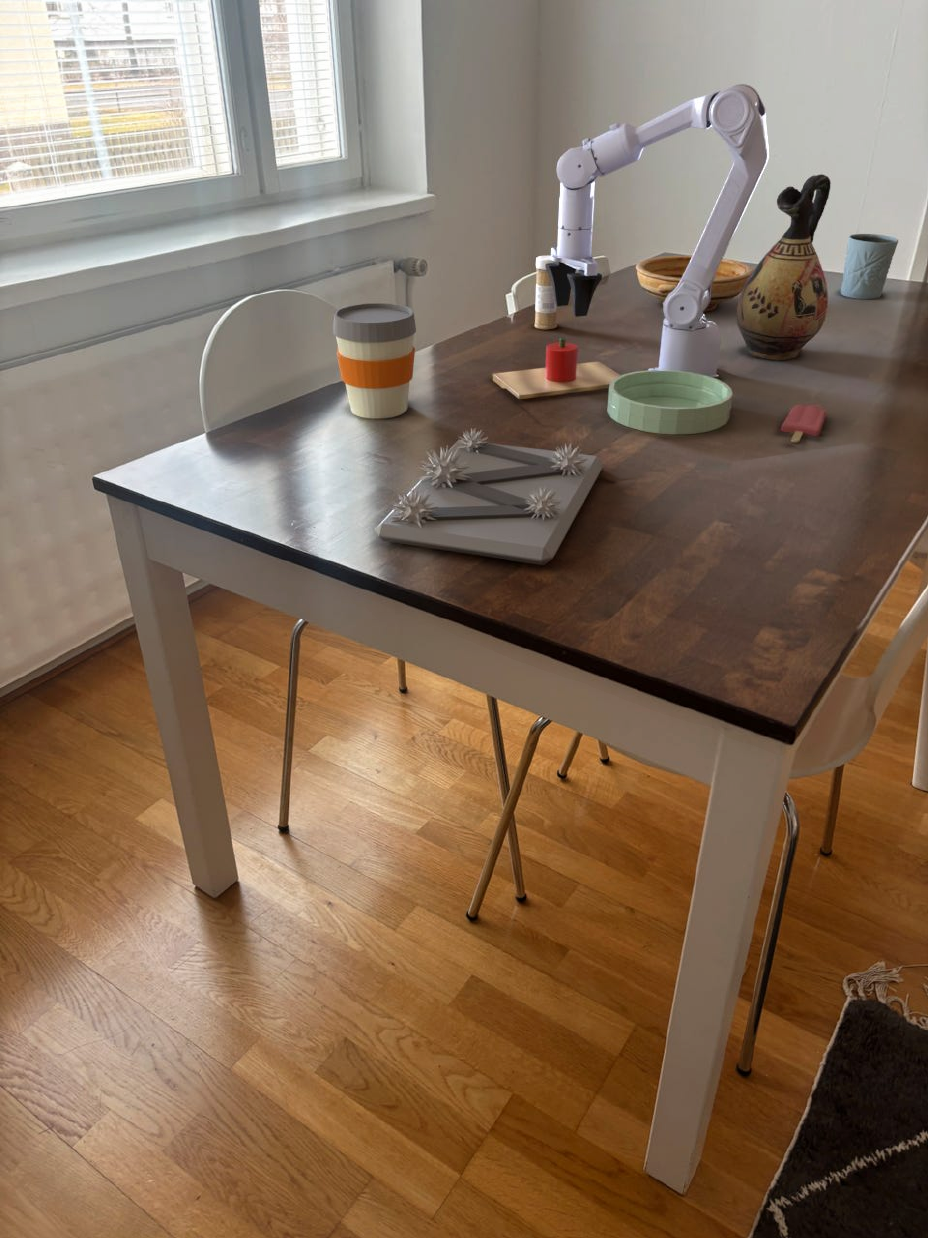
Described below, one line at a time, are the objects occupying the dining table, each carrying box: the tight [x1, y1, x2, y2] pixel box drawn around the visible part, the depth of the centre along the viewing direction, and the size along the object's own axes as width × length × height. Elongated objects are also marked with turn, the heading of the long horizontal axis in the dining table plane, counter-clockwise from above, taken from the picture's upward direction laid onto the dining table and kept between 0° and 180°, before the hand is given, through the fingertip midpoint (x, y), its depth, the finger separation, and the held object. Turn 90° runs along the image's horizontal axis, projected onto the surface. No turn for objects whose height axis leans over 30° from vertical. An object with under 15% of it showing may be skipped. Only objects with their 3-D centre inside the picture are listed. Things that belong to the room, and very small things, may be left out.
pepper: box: [545, 337, 579, 382], centre depth 159 cm, size 5×5×7 cm
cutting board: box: [492, 361, 622, 400], centre depth 161 cm, size 20×12×1 cm, turn 109°
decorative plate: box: [373, 426, 605, 566], centre depth 119 cm, size 30×22×7 cm
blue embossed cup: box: [840, 233, 899, 300], centre depth 210 cm, size 10×10×12 cm
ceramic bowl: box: [635, 255, 754, 313], centre depth 204 cm, size 30×24×8 cm
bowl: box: [606, 369, 734, 436], centre depth 146 cm, size 18×18×4 cm
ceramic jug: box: [736, 173, 832, 361], centre depth 168 cm, size 17×15×30 cm
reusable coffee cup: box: [332, 302, 417, 420], centre depth 147 cm, size 13×13×15 cm
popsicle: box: [780, 404, 827, 444], centre depth 142 cm, size 5×2×15 cm
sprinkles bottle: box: [534, 255, 558, 331], centre depth 188 cm, size 5×5×13 cm
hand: (571, 310), depth 166 cm, fingers open, 7 cm apart
